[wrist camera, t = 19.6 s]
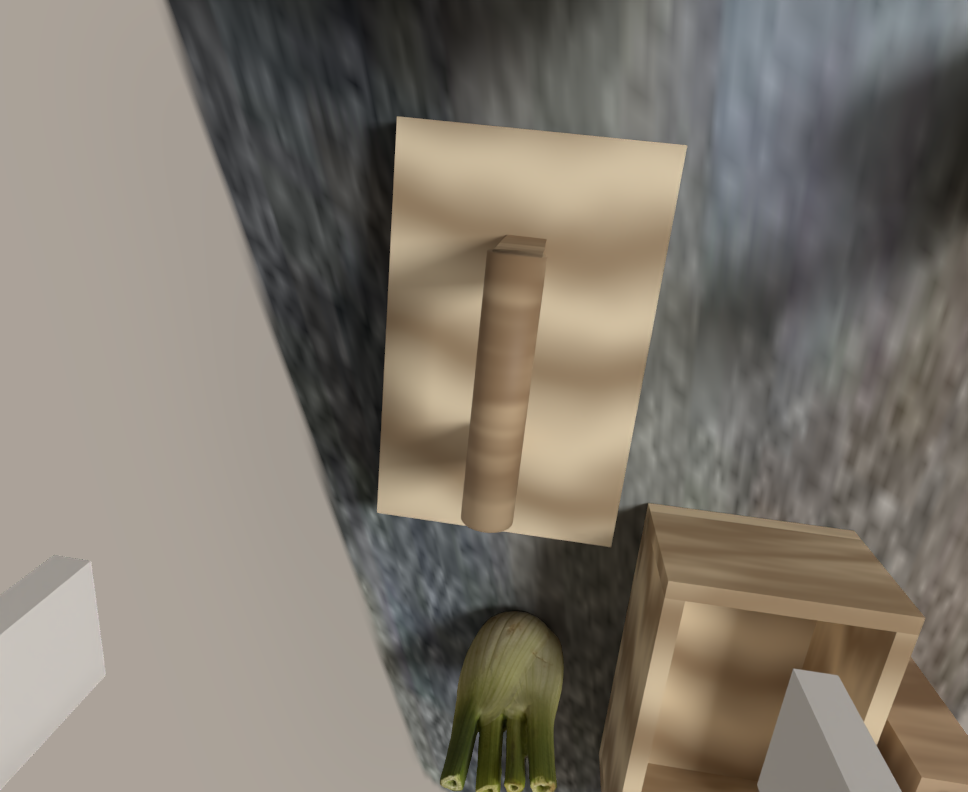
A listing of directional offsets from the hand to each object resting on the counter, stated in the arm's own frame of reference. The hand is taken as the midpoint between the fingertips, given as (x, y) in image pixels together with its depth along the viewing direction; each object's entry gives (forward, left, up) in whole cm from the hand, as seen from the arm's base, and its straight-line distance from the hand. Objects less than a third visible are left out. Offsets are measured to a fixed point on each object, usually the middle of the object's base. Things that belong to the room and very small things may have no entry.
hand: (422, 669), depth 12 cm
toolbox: (+19, +18, -26) cm, 37 cm away
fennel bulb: (+20, +2, -26) cm, 33 cm away
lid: (0, 0, -26) cm, 26 cm away
